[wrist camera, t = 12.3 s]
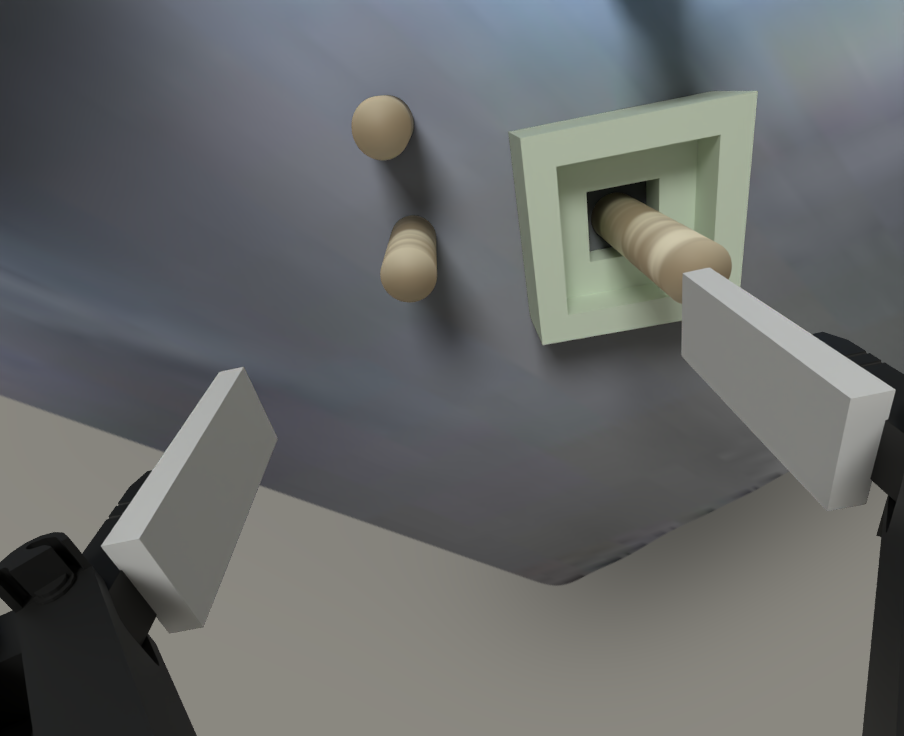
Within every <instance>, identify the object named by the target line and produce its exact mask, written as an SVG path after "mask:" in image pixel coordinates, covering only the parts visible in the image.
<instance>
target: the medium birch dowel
mask: <svg viewBox="0 0 904 736" xmlns="http://www.w3.org/2000/svg"><path fill="white" fill-rule="evenodd" d="M380 275H381V282H382V284H383V287H384V288H385V290H386V291H387V292H388V294H390V295H391V296H392V297H393V298H395V299H397V300H399V301H403V302H416V301H419V300H422V299H424V298H425V297H427V296H428V295H429V294H430V293H431V292H432V290H433V289H434V287H435V285H436V281H437V254H436V233H435V230H434V228H433V226H432V225H431V223H430V222H429V221H427V220H426V219H424V218H422V217H420V216H415V215H411V216H406V217H404V218H402V219H400V220H399V221H398V222H397V223H396V224H395V226H394V227H393V230H392V233H391V236H390V240H389V243H388V246H387V250H386V253H385V257H384V260H383V264H382V267H381V273H380Z"/></svg>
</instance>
